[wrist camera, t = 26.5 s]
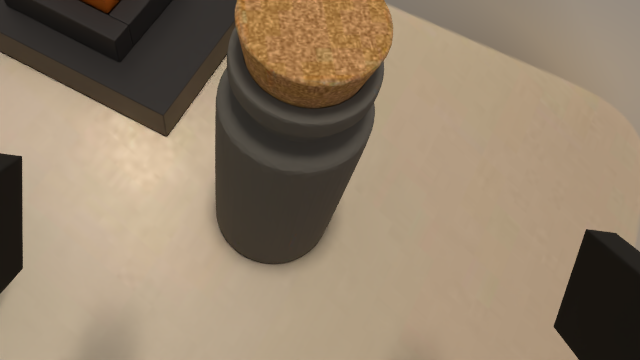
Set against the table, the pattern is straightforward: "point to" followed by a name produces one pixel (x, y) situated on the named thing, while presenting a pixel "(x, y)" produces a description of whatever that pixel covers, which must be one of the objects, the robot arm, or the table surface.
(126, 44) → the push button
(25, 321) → the table surface
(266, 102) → the bottle
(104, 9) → the orange square block
